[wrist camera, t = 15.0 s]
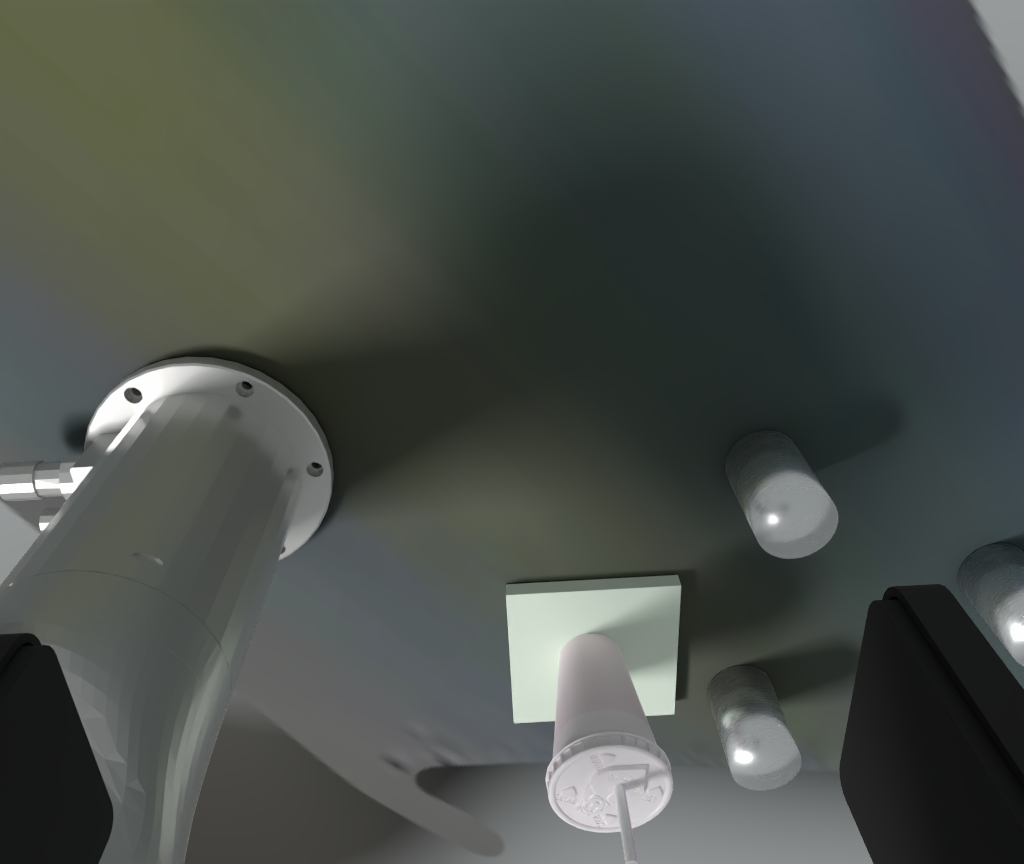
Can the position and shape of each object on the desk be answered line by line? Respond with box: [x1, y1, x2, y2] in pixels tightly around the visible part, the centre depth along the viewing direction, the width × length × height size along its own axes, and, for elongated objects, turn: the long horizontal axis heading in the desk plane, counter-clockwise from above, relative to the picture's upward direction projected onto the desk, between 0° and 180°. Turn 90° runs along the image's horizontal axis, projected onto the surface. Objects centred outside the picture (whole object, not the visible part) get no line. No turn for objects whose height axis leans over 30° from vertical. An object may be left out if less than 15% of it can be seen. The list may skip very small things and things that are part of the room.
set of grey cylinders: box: [707, 430, 1024, 790], centre depth 49 cm, size 18×20×6 cm
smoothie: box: [545, 633, 673, 864], centre depth 46 cm, size 6×6×14 cm
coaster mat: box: [506, 575, 681, 723], centre depth 53 cm, size 10×10×1 cm
